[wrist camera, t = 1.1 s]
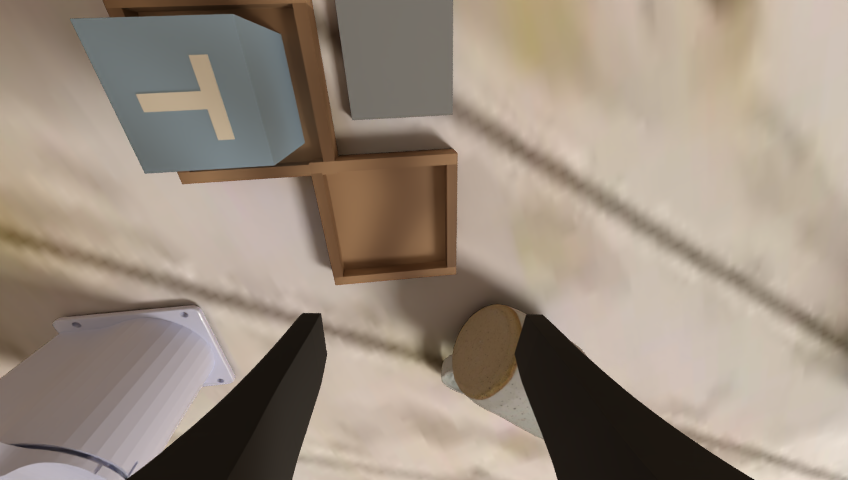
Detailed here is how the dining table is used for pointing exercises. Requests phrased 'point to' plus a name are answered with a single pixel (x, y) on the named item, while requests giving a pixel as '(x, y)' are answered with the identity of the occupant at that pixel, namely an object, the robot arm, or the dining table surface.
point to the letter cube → (196, 89)
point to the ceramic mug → (491, 365)
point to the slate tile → (397, 57)
